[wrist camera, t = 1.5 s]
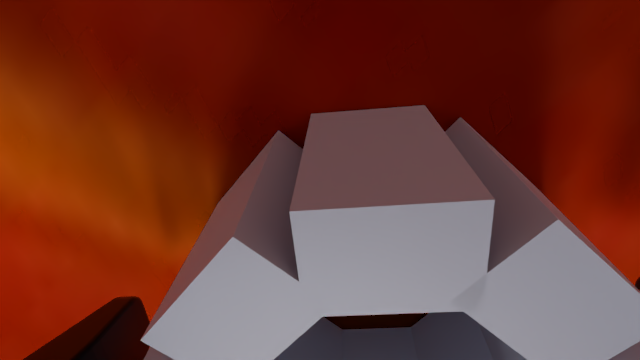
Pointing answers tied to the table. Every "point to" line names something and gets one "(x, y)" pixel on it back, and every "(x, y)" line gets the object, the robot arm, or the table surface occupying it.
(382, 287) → the slate gear
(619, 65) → the table surface
